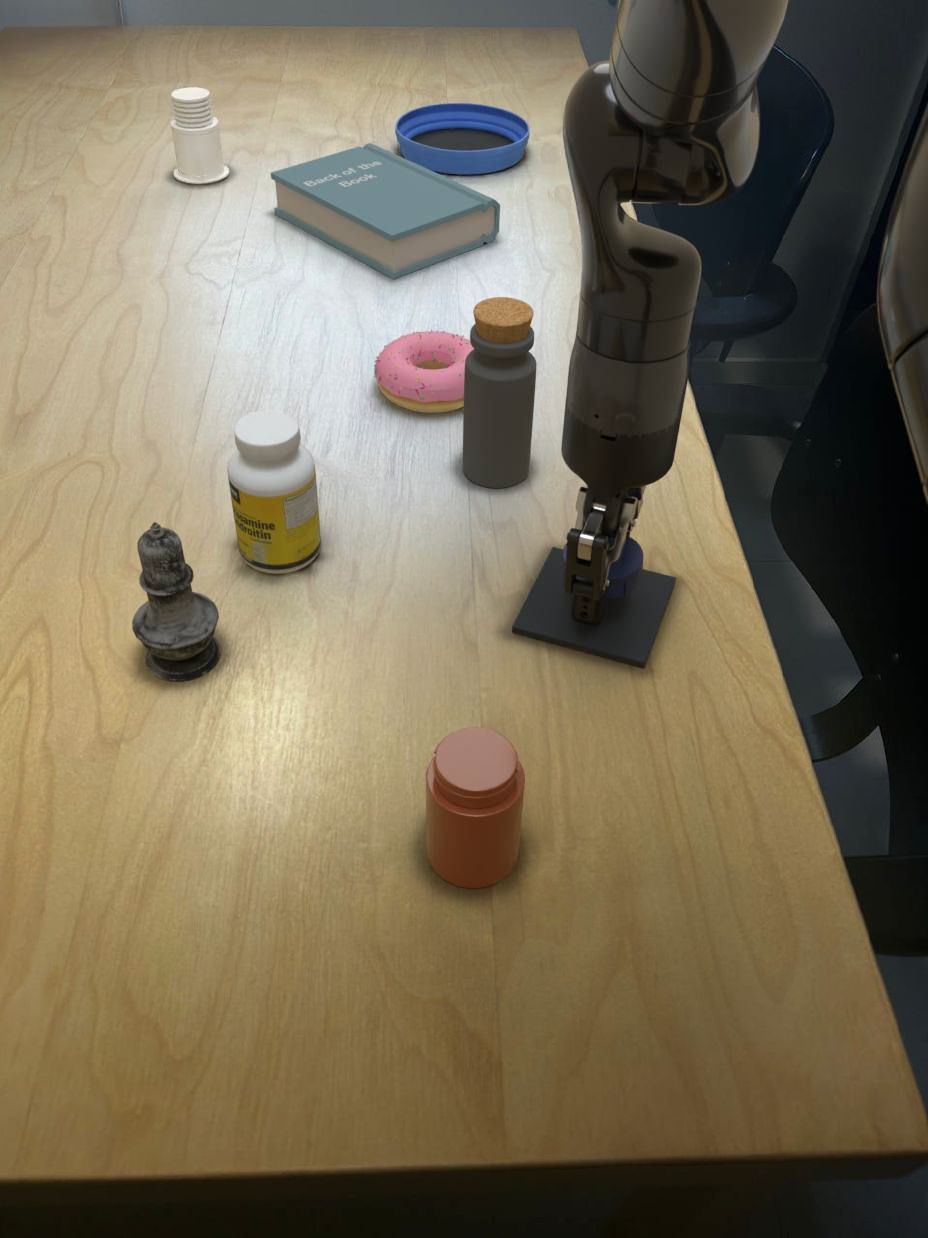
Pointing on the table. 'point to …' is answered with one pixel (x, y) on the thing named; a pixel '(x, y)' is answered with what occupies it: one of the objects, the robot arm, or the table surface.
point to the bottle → (499, 393)
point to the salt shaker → (173, 611)
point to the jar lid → (621, 569)
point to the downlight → (196, 137)
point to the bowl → (462, 138)
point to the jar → (474, 807)
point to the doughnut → (424, 371)
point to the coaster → (622, 625)
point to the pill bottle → (274, 493)
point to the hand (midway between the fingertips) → (598, 593)
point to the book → (385, 209)
